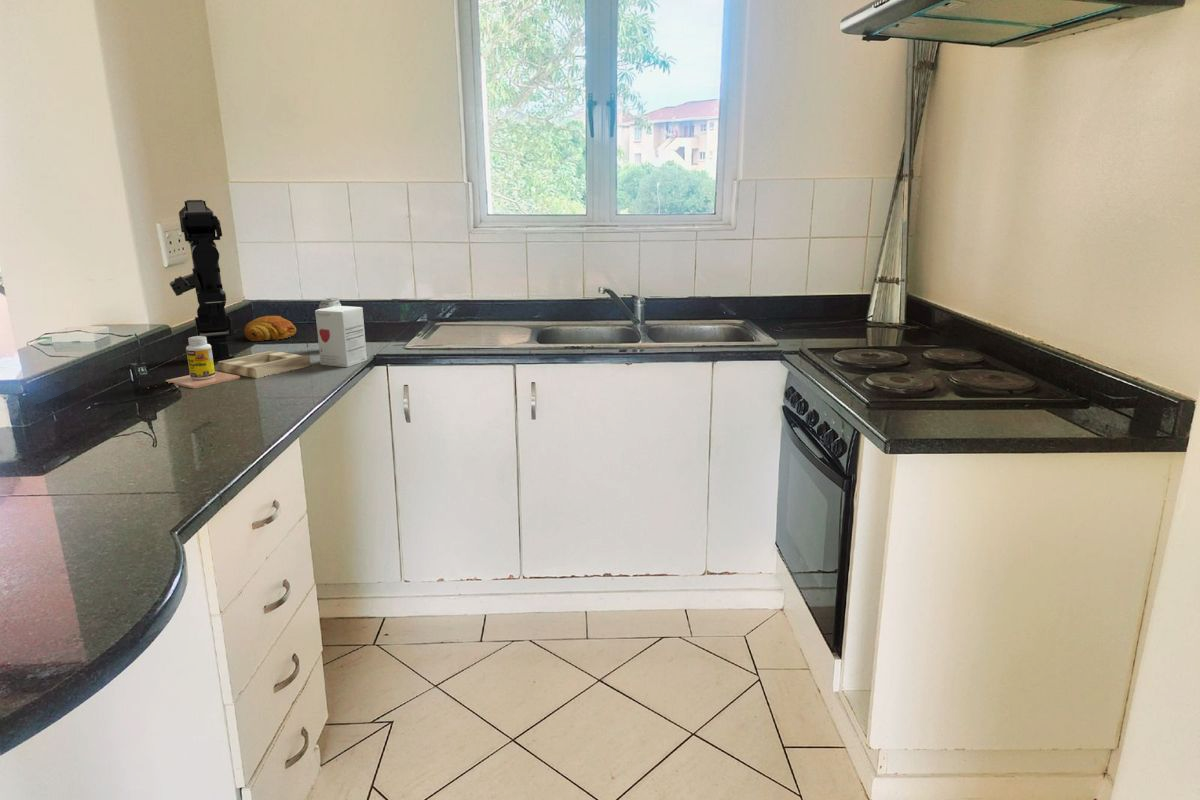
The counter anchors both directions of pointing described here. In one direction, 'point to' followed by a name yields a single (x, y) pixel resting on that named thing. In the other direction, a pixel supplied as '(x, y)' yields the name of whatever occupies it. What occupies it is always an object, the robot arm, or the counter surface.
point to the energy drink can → (329, 303)
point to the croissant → (269, 328)
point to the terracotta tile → (192, 383)
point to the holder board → (264, 364)
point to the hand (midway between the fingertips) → (215, 325)
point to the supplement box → (341, 335)
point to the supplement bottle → (200, 358)
